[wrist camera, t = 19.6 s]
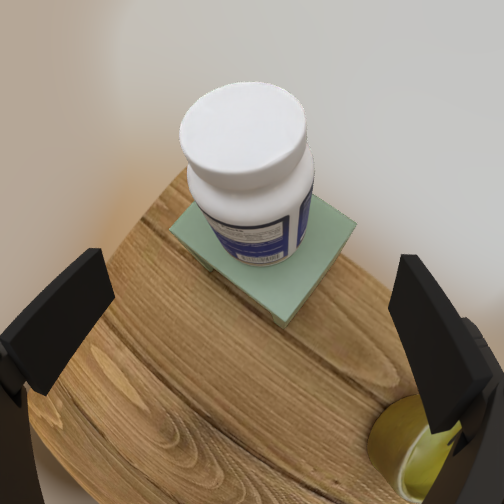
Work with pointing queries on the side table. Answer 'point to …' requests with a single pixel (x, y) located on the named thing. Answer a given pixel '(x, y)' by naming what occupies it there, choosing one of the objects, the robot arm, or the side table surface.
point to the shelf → (278, 275)
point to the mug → (408, 448)
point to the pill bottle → (250, 169)
